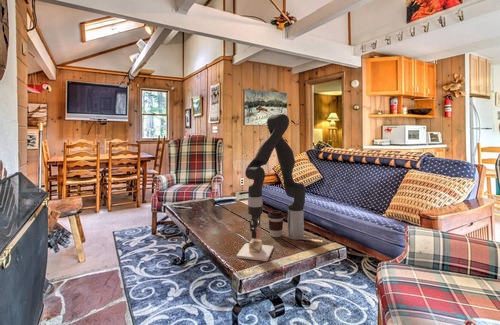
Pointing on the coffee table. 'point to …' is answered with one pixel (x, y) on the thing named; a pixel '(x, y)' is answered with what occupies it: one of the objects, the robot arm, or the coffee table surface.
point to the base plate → (261, 256)
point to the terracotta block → (258, 233)
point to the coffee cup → (275, 223)
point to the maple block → (255, 246)
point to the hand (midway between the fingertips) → (255, 236)
